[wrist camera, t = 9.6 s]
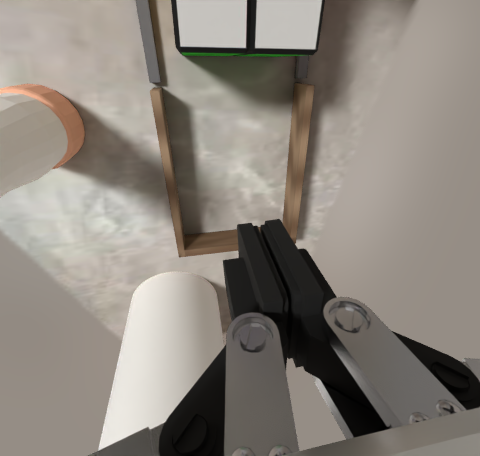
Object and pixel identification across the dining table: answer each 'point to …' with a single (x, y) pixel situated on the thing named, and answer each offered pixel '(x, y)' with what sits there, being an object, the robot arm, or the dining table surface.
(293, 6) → the puzzle cube
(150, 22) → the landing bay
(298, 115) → the wooden frame
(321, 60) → the dining table surface
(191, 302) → the canister
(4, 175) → the pepper shaker
